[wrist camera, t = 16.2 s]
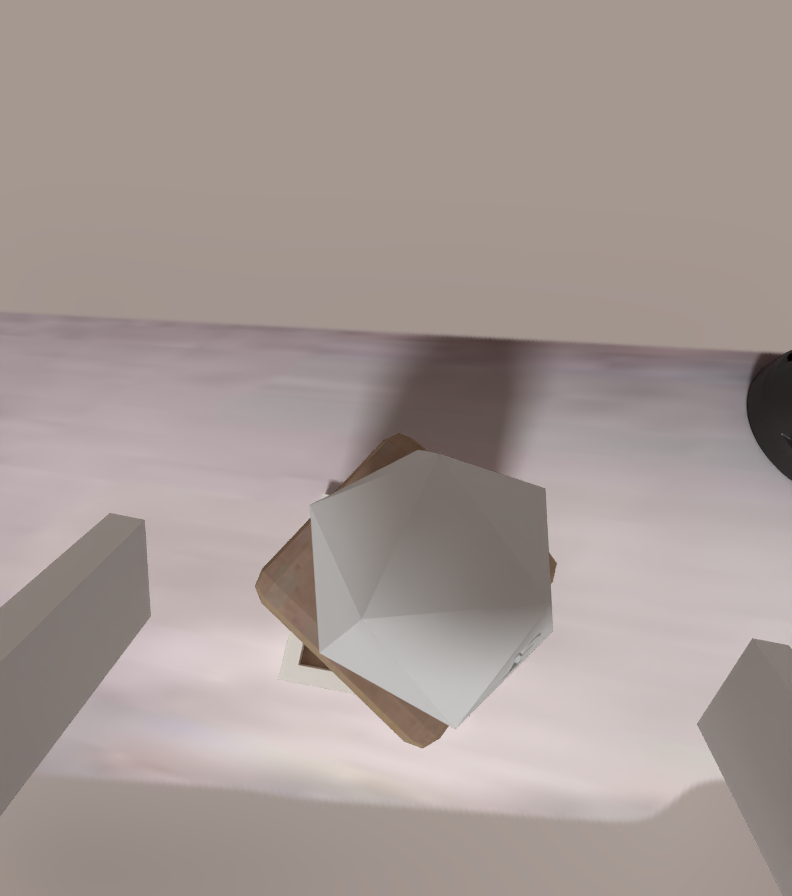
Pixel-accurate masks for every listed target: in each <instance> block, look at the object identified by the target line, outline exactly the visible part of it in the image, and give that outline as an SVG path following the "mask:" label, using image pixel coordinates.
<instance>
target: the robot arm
mask: <svg viewBox="0 0 792 896" xmlns="http://www.w3.org/2000/svg"><path fill="white" fill-rule="evenodd" d="M748 415H749V420H750V424H751V428H752V430H753V433H754V435H755V438H756V440H757V442H758V443H759V445H760V447H761V449H762V450H763V452H764V453H765V454H766V456H767V457H768V458H769V460H770V461H771V462H772V463H773V464H774V465H775V466H776V467H777V468H778V469H779V470H780V471H781V472H782V473H783V474H784V475H785V476H787V477H788V478H789V479H790V480H792V350H791V351H789V352H787V353H785V354H783V355H782V356H780V357H779V358H777V359H776V360H774V361H773V362H771V363H769V364H768V365H767V366H765V367H764V368H763V369H762V370H761V371H760V372H759V373H758V374H757V376H756V377H755V379H754V381H753V383H752V385H751V388H750V391H749V396H748ZM150 616H151V613H150V597H149V580H148V564H147V548H146V532H145V520H142V519H137V518H132V517H127V516H122V515H117V514H112V513H110V514H108V515H107V516H106V517H105V518H104V519H103V520H101V521H100V522H99V523H98V524H97V525H96V526H95V527H93V528H92V529H91V530H90V531H89V532H88V533H86V534H85V535H84V536H83V537H82V538H81V539H79V540H78V541H77V542H76V543H75V544H74V545H72V546H71V547H70V548H69V549H68V550H67V551H66V552H64V553H63V554H62V555H61V556H60V557H59V558H57V559H56V560H55V561H54V562H53V563H52V564H50V565H49V566H48V567H47V568H46V569H45V570H44V571H42V572H41V573H40V574H39V575H38V576H37V577H35V578H34V579H33V580H32V581H31V582H30V583H28V584H27V585H26V586H25V587H24V588H23V589H22V590H20V591H19V592H18V593H17V594H16V595H15V596H13V597H12V598H11V599H10V600H9V601H8V602H6V603H5V604H4V605H3V606H2V607H1V608H0V816H1V815H2V813H3V812H4V810H5V809H6V808H7V806H8V805H9V804H10V802H11V801H12V800H13V799H14V797H15V796H16V795H17V793H18V792H19V791H20V789H21V788H22V787H23V785H24V784H25V783H26V781H27V780H28V779H29V777H30V776H31V775H32V773H33V772H34V771H35V769H36V768H37V767H38V765H39V764H40V763H41V761H42V760H43V759H44V757H45V756H46V755H47V753H48V752H49V751H50V749H51V748H52V747H53V745H54V744H55V743H56V741H57V740H58V739H59V737H60V736H61V735H62V733H63V732H64V731H65V729H66V728H67V727H68V725H69V724H70V723H71V721H72V720H73V719H74V717H75V716H76V715H77V713H78V712H79V711H80V709H81V708H82V707H83V705H84V704H85V703H86V701H87V700H88V699H89V697H90V696H91V695H92V693H93V692H94V691H95V689H96V688H97V687H98V685H99V684H100V683H101V681H102V680H103V679H104V677H105V676H106V675H107V673H108V672H109V671H110V669H111V668H112V667H113V666H114V664H115V663H116V662H117V660H118V659H119V658H120V656H121V655H122V654H123V652H124V651H125V650H126V648H127V647H128V646H129V644H130V643H131V642H132V640H133V639H134V638H135V636H136V635H137V634H138V632H139V631H140V630H141V628H142V627H143V626H144V624H145V623H146V622H147V620H148V619H149V618H150ZM697 725H698V727H699V729H700V731H701V733H702V735H703V737H704V739H705V741H706V743H707V745H708V747H709V749H710V751H711V753H712V755H713V757H714V759H715V761H716V763H717V765H718V767H719V769H720V771H721V773H722V775H723V777H724V779H725V781H726V783H727V785H728V787H729V789H730V791H731V793H732V795H733V797H734V799H735V801H736V803H737V805H738V807H739V809H740V811H741V813H742V815H743V817H744V819H745V821H746V823H747V825H748V827H749V829H750V831H751V833H752V835H753V837H754V839H755V841H756V843H757V845H758V847H759V849H760V851H761V853H762V855H763V857H764V859H765V861H766V862H767V865H768V866H769V868H770V871H771V873H772V875H773V877H774V879H775V881H776V883H777V884H778V886H779V889H780V891H781V893H782V895H783V896H792V649H791V648H790V647H789V645H784V644H778V643H773V642H768V641H763V640H758V639H753V638H752V640H751V641H750V643H749V645H748V646H747V648H746V649H745V651H744V652H743V654H742V655H741V657H740V658H739V660H738V662H737V663H736V665H735V666H734V668H733V669H732V671H731V672H730V674H729V675H728V677H727V679H726V680H725V682H724V683H723V685H722V686H721V688H720V689H719V691H718V692H717V694H716V696H715V697H714V699H713V700H712V702H711V703H710V705H709V706H708V708H707V709H706V711H705V712H704V714H703V716H702V717H701V719H700V720H699V722H698V723H697Z"/></svg>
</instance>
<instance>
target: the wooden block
mask: <svg viewBox="0 0 792 896" xmlns="http://www.w3.org/2000/svg"><path fill="white" fill-rule="evenodd" d="M417 450H423V451H427V450H425V449H424V448H423V447H422V446H420V445H419V444H418V443H417V442H416V441H414V440H413V439H411V438H408V437H406V436H404V435H401V434H397V435H395V436H393V437H391V438H388V439H386V440H384V441H383V442H382V443H381V444H380V445H379V446H378V447H377V448H376V449H375V450H374V451H373V452H372V453H371V454H370V455H369V457H368V458H367V459H366V460H365V461H364V462H363V463H362V464H361V465H360V466H359V467H358V468H357V469H356V470H355V471H354V472H353V473H352V475H351V476H350V477H349V478H348V479H347V480H346V481H345V482H344V483H343V484H342V485H341V486H340V487H339V488H338V489H337V490H336V491H338V490H340V489H342V488H344V487H346V486H348V485H350V484H352V483H354V482H356V481H358V480H360V479H362V478H364V477H366V476H368V475H370V474H372V473H374V472H375V471H377V470H379V469H381V468H383V467H385V466H387V465H389V464H391V463H393V462H395V461H397V460H399V459H401V458H403V457H405V456H407V455H409V454H411V453H413V452H415V451H417ZM336 491H335V492H336ZM549 564H550V582H551V583H552V582H553V578H554V573H555V568H556V565H557V563H556V562H555V560H554V559H553V557H552V556H551V554H550V553H549ZM255 588H256V590H257V593H258V595H259V598H260V600H261V603H262V604H263V605H264V606H265V607H266V608H267V609H268V610H269V611H270V612H271V613H273V614H274V615H275V616H276V617H277V618H278V619H279V620H280V621H281V622H282V623H283V624H284V625H285V626H286V627H287V628H288V629H289V630H290V631H291V632H292V633H293V634H294V635H295V636H296V637H297V638H298V639H299V640H300V641H301V642H302V643H303V644H304V645H305V646H306V647H308V648H309V649H310V650H311V651H312V652H313V653H314V654H315V655H316V656H317V657H318V658H319V659H320V660H321V661H322V662H323V663H324V664H325V665H326V666H327V667H328V668H329V669H330V670H331V671H332V672H333V673H334V674H335V675H336V676H337V677H338V678H339V679H340V680H341V681H343V682H344V683H345V684H346V685H347V686H348V687H349V688H350V689H351V690H352V691H353V692H354V693H355V694H356V695H357V696H358V697H359V698H360V699H361V700H362V701H363V702H364V703H365V704H366V705H367V706H368V707H369V708H370V709H371V710H372V711H373V712H374V713H375V714H376V715H377V716H379V717H380V718H381V719H382V720H383V721H384V722H385V723H386V724H387V725H388V726H389V727H390V728H391V729H392V730H393V731H394V732H395V733H396V734H397V735H398V736H399V737H400V738H401V739H402V740H403V741H404V742H407V743H409V744H412V745H415V746H418V747H420V748H424V747H426V746H428V745H429V744H431V743H433V742H434V741H436V740H438V739H439V738H440V737H441V736H442V735H443V733H444V732H445V730H446V729H447V728H448V726H449V725H447V724H445V723H443V722H442V721H440V720H438V719H436V718H434V717H433V716H431V715H429V714H427V713H425V712H424V711H422V710H420V709H418V708H417V707H415V706H413V705H411V704H409V703H408V702H406V701H404V700H402V699H401V698H399V697H397V696H395V695H393V694H392V693H390V692H388V691H386V690H385V689H383V688H381V687H379V686H377V685H376V684H374V683H372V682H370V681H368V680H367V679H365V678H363V677H361V676H360V675H358V674H356V673H354V672H352V671H351V670H349V669H347V668H345V667H344V666H342V665H340V664H338V663H336V662H335V661H333V660H331V659H329V658H327V657H326V656H324V655H322V654H320V653H319V638H318V623H317V607H316V592H315V577H314V561H313V546H312V531H311V518H310V519H309V520H308V521H307V522H306V523H305V524H304V525H303V526H302V527H301V528H300V529H299V531H298V532H297V533H296V534H295V535H294V536H293V537H292V538H291V539H290V540H289V541H288V542H287V543H286V544H285V545H284V546H283V547H282V548H281V550H280V551H279V552H278V553H277V554H276V555H275V556H274V557H273V558H272V559H271V560H270V561H269V562H268V563H267V564H266V565H265V566H264V568H263V569H262V571H261V573H260V575H259V578H258V580H257V583H256V585H255Z"/></svg>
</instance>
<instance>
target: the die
mask: <svg viewBox="0 0 792 896" xmlns="http://www.w3.org/2000/svg"><path fill="white" fill-rule="evenodd" d="M310 515H311V531H312V546H313V561H314V577H315V592H316V607H317V623H318V638H319V653H320V654H322V655H324V656H326V657H327V658H329V659H331V660H333V661H335V662H336V663H338V664H340V665H342V666H344V667H345V668H347V669H349V670H351V671H352V672H354V673H356V674H358V675H360V676H361V677H363V678H365V679H367V680H368V681H370V682H372V683H374V684H376V685H377V686H379V687H381V688H383V689H385V690H386V691H388V692H390V693H392V694H393V695H395V696H397V697H399V698H401V699H402V700H404V701H406V702H408V703H409V704H411V705H413V706H415V707H417V708H418V709H420V710H422V711H424V712H425V713H427V714H429V715H431V716H433V717H434V718H436V719H438V720H440V721H442V722H443V723H445V724H447V725H449V726H450V727H452V728H454V729H456V728H457V727H458V726H459V725H460V724H461V723H462V722H463V721H464V720H465V719H466V718H467V717H468V716H469V715H470V714H471V713H472V712H473V711H474V710H475V709H476V708H477V707H478V706H479V705H480V704H481V703H482V702H483V701H484V700H485V699H486V698H487V697H488V696H489V695H490V694H491V693H492V692H493V691H494V690H495V689H496V688H497V687H498V686H499V685H500V684H501V683H502V682H503V681H504V680H505V679H506V678H507V677H508V676H509V675H510V674H511V673H512V672H513V671H514V670H515V669H516V668H517V667H518V666H519V665H520V664H521V663H522V662H523V661H524V660H525V659H526V658H527V657H528V656H529V655H530V654H531V653H532V652H533V651H534V650H535V649H536V648H537V647H538V646H539V645H540V644H541V643H542V642H543V641H544V640H545V639H546V638H547V637H548V636H549V635H550V634H551V633H552V632H553V621H552V601H551V582H550V564H549V546H548V528H547V509H546V491H545V488H542V487H539V486H536V485H533V484H530V483H527V482H524V481H521V480H518V479H515V478H512V477H509V476H506V475H503V474H500V473H497V472H494V471H491V470H488V469H485V468H482V467H478V466H475V465H472V464H469V463H466V462H463V461H460V460H457V459H454V458H451V457H448V456H445V455H442V454H439V453H433V452H428V451H423V450H417V451H415V452H413V453H411V454H409V455H407V456H405V457H403V458H401V459H399V460H397V461H395V462H393V463H391V464H389V465H387V466H385V467H383V468H381V469H379V470H377V471H375V472H374V473H372V474H370V475H368V476H366V477H364V478H362V479H360V480H358V481H356V482H354V483H352V484H350V485H348V486H346V487H344V488H342V489H340V490H338V491H336V492H334V493H332V494H331V495H329V496H327V497H325V498H323V499H321V500H319V501H317V502H315V503H313V504H311V505H310Z"/></svg>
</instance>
